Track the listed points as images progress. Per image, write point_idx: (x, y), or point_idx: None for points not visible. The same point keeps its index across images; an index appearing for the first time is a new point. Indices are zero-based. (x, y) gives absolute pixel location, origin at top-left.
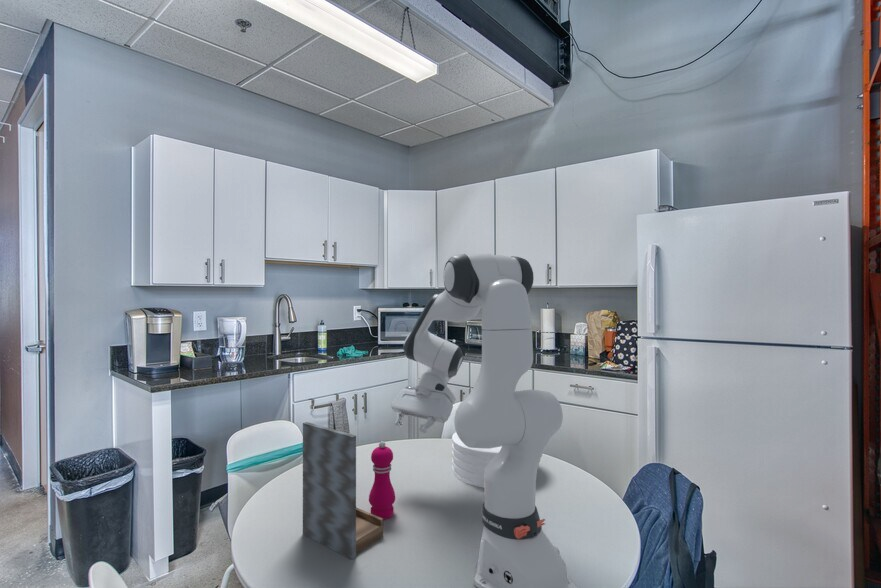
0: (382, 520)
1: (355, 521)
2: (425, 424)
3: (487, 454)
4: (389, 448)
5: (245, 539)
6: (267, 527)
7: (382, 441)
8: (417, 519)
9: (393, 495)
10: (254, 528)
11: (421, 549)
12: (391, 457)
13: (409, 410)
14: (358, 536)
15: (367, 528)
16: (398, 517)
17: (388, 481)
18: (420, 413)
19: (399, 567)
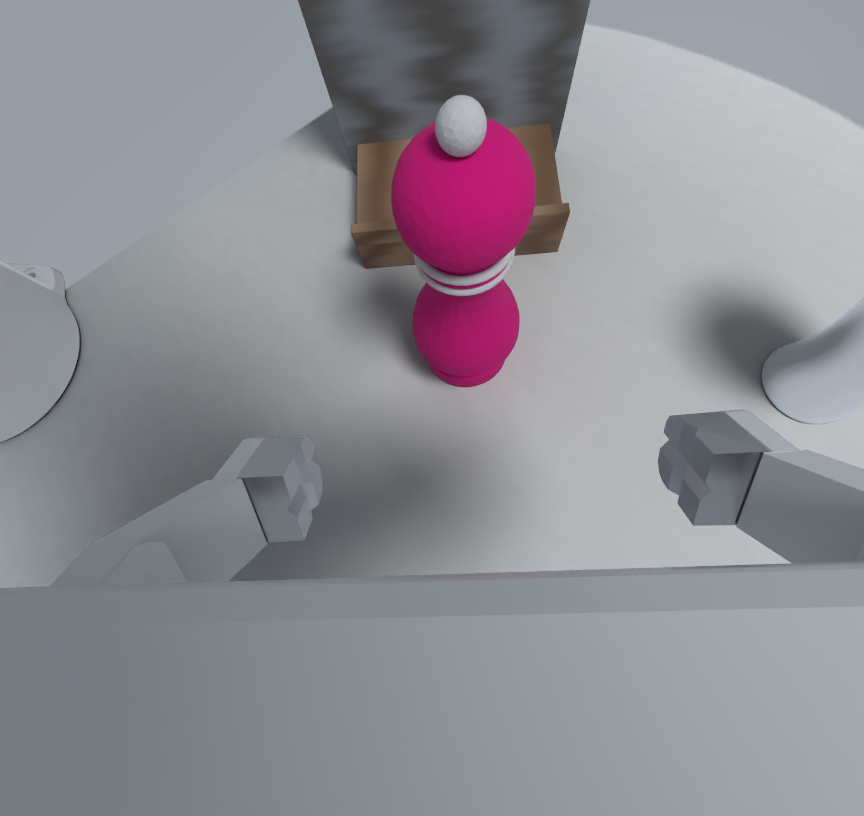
0: (353, 235)
1: (325, 80)
2: (206, 485)
3: None
4: (428, 194)
5: (642, 49)
6: (663, 101)
7: (458, 104)
8: (345, 401)
9: (416, 333)
10: (684, 79)
11: (238, 294)
12: (393, 213)
13: (686, 570)
14: (368, 168)
15: (378, 204)
16: (405, 370)
17: (430, 293)
18: (315, 580)
19: (241, 214)
